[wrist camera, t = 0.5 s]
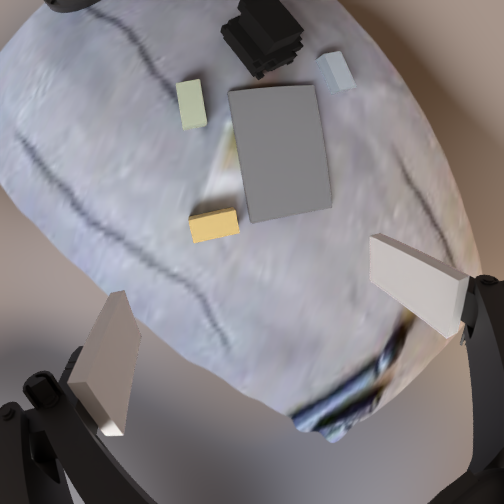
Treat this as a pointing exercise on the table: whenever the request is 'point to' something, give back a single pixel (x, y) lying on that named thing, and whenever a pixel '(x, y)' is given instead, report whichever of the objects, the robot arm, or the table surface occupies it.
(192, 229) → the mustard brick
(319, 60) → the dusty blue brick
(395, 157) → the table surface
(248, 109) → the felt pad
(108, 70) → the table surface
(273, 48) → the toy
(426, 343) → the table surface
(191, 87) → the sage brick
